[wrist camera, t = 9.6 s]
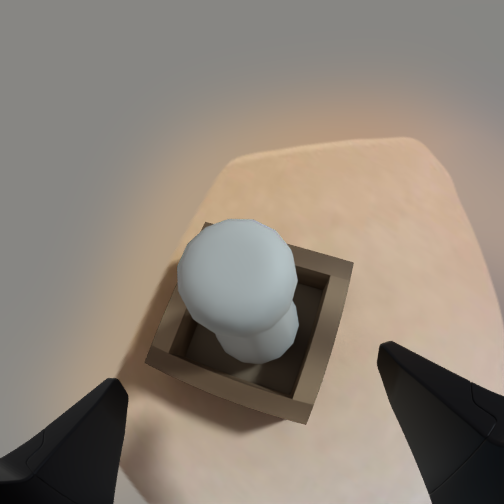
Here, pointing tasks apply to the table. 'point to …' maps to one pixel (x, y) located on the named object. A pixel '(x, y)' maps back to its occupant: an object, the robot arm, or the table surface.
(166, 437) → the table surface
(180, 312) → the socket block
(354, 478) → the table surface
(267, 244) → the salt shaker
